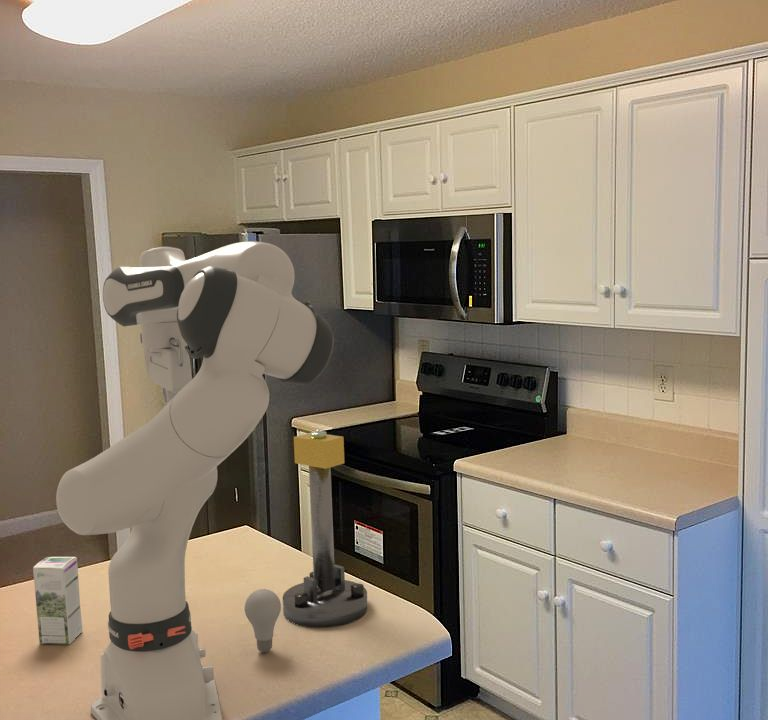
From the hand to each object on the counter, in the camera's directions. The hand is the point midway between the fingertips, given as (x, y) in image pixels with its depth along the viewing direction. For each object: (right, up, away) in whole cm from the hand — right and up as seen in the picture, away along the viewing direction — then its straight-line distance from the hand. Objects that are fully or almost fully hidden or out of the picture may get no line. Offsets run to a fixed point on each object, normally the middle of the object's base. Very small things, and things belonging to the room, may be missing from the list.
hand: (171, 410), depth 161 cm
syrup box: (-18, -41, -5) cm, 45 cm away
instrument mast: (+28, -34, +3) cm, 44 cm away
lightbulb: (+19, -41, -13) cm, 47 cm away
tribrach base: (+28, -38, +4) cm, 48 cm away
